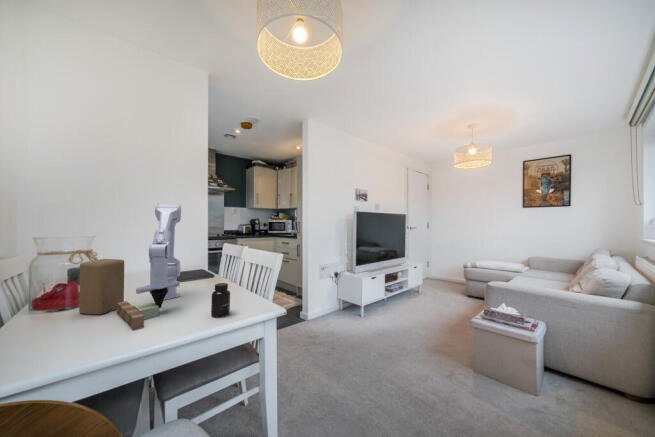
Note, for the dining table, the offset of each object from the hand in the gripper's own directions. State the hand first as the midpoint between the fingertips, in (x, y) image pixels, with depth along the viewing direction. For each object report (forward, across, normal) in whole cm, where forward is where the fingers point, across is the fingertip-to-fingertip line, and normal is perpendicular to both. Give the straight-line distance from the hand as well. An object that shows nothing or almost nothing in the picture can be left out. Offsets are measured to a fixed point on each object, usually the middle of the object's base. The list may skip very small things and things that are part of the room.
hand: (158, 307), depth 99 cm
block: (+2, -14, +19) cm, 24 cm away
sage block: (+2, -4, 0) cm, 5 cm away
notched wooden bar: (+2, -9, 0) cm, 9 cm away
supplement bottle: (+2, +15, -20) cm, 25 cm away
